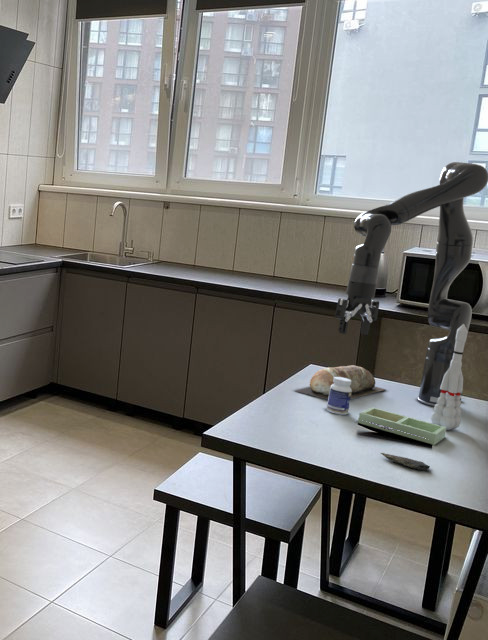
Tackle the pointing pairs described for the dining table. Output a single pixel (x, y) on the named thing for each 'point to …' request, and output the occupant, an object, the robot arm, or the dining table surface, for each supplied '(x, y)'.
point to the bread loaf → (359, 377)
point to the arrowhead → (407, 462)
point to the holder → (403, 425)
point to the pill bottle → (339, 396)
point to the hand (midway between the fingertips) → (353, 333)
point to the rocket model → (451, 388)
